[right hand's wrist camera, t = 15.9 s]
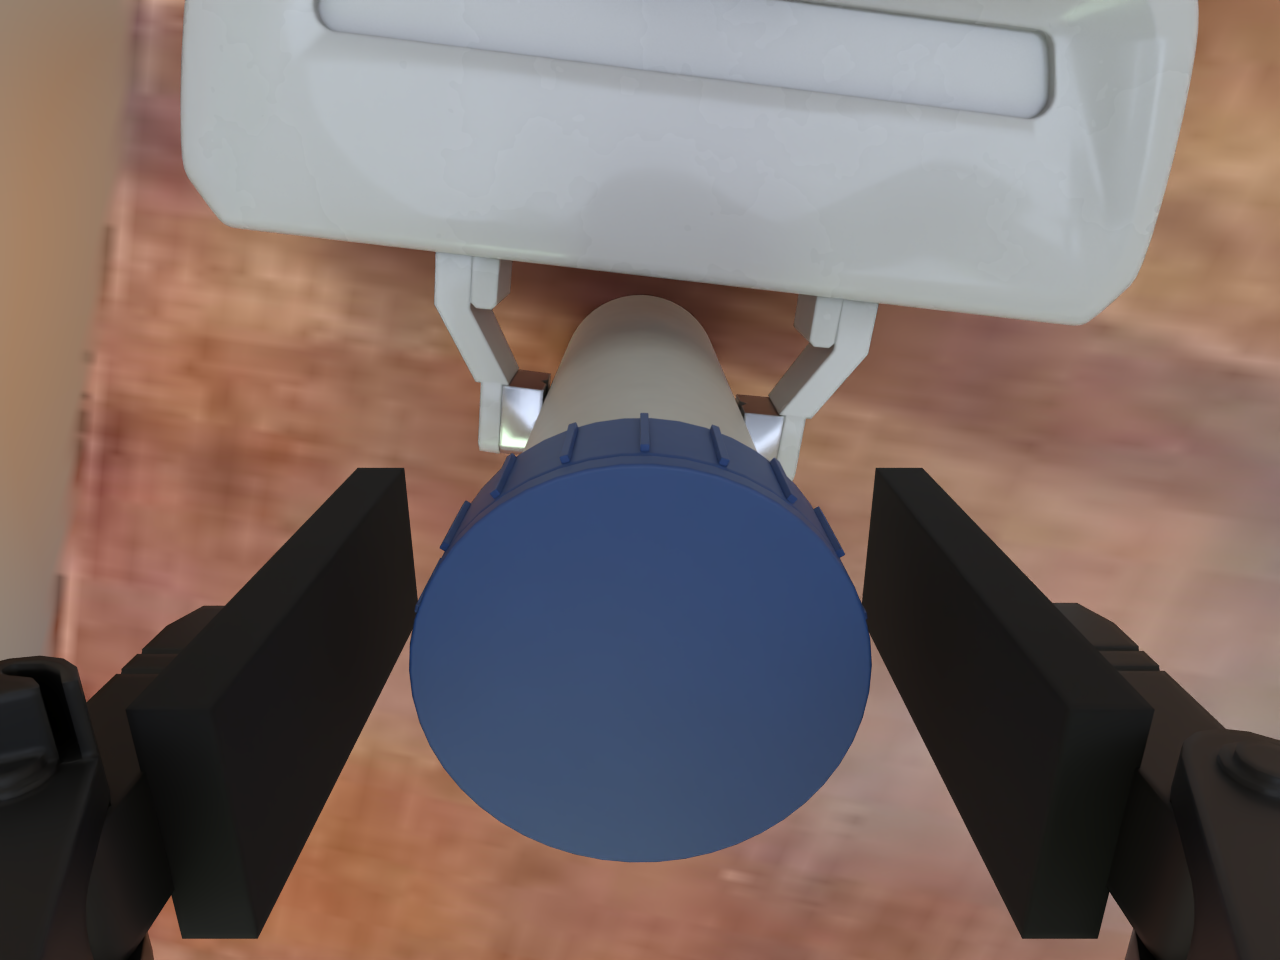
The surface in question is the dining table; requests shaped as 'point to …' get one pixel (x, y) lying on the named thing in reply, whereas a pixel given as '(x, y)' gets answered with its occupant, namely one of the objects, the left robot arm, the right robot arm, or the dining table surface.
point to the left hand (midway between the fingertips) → (637, 461)
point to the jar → (639, 372)
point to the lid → (640, 643)
